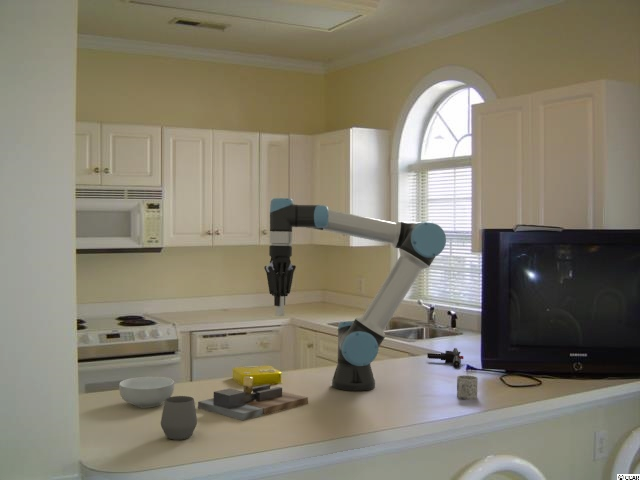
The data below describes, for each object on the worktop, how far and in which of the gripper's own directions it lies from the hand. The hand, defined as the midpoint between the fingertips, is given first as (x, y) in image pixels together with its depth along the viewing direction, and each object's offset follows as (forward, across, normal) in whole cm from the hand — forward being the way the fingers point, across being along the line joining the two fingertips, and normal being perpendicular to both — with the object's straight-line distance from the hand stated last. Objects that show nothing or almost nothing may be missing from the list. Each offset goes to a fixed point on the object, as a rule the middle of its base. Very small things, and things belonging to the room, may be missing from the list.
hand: (279, 315), depth 236 cm
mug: (+27, -41, +47) cm, 68 cm away
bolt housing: (+24, +18, +5) cm, 31 cm away
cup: (+27, +53, +15) cm, 61 cm away
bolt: (+24, +22, +5) cm, 33 cm away
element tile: (+27, -11, -21) cm, 36 cm away
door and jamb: (+26, +17, +5) cm, 32 cm away
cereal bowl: (+27, +38, -20) cm, 51 cm away
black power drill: (+27, -92, +10) cm, 96 cm away
